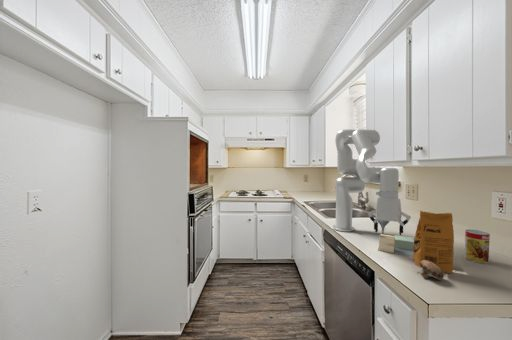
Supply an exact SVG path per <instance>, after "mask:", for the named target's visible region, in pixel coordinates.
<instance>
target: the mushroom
mask: <svg viewBox="0 0 512 340" xmlns="http://www.w3.org/2000/svg"><path fill="white" fill-rule="evenodd" d="M420 266H421V267H420V268H422V270H421V271H419V273H420V276H421V277H422V278H424V279H429V278H434V279H436V280H438V281H442V280H443V279H444V271H442V270H441V269H440V268H439V267H438V266H437V265H435V264H434V263H432V262H431V261H428V260H422V261H420Z"/></svg>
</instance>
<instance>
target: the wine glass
mask: <svg viewBox="0 0 512 340" xmlns="http://www.w3.org/2000/svg"><path fill="white" fill-rule="evenodd" d="M374 214H375V216H376V213H374ZM390 222H391V221H384V220H378V221H377V223H378V225H380V227H381V234H383V235H385V233H384V231H385V229H386V228H385V227H386V226H387V225H388V224H389V223H390Z"/></svg>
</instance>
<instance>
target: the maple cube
mask: <svg viewBox="0 0 512 340" xmlns="http://www.w3.org/2000/svg"><path fill="white" fill-rule="evenodd" d="M378 238H379V239H378V248H379V250H380V251H379V252H383V251H386V252H385V253H389V252H392V253H391V254H395V253H394V248H395V236H394V235H390V234H384V235H383V234H382V233H381V234H379V237H378Z"/></svg>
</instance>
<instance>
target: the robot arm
mask: <svg viewBox="0 0 512 340" xmlns="http://www.w3.org/2000/svg"><path fill="white" fill-rule="evenodd" d="M380 139H381V135H380V133H379V132H378V131H377V130H375V129H363V128H362V129H349V128H348V129H345V128H344V129H340V130H338V131H337V132H336V135H335V140H334V141H335V142H334V143H335V146H336V151H337V152H336V153H337V172H338V174H340V175H345V176H342V177H341V176H340V177H338V178H336V179H335V181H334V188H335V224H333V225H332V229H333V230H335V231H338V232H354V231H355V227H354V226H353V205H354V203H353V198H352V196H351V194H359V193H362V192H363V191H364V190H365V187H366V184H379V191H376V196H379V197H377V199H376V200H377V201H376V207H375V209H373V210H372V211H371V210H370V211H368V212H367V215H368V217H369V219H370V220H371V222H372V223H373V230H374V231H375V233H378V231H379V229H378V228H379V223H378V220H384V221H390V222H397V223H398V224H399V227H398V229H399V234H398V236H402V234H403V233H404V226H405V225H406V224H408V222H409V221H410V220H411V218H412V217H411V216H410V215H409V214H407V213H405V212H403V211H402V202H401V198H399V176H400V175H399V174H400V173H399V169H398V168H396V167H375V166H374V167H373V166H372V167H370V166H369V167H368V165H367V163H366V161H368V160H370V159H372V158H373V157H374V156H375V155H376V154H377V149H376V145H378V144H379V142H380V141H381V140H380ZM349 145H354V147H355V149H356V152H357V153H358V157H357V159H356V158H355V159H354V158H353V151H352V148H351V147H350V146H349ZM375 213H376V215H375V218H374V216H373V214H375ZM402 216H403V218H405V220H403V221H402Z"/></svg>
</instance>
